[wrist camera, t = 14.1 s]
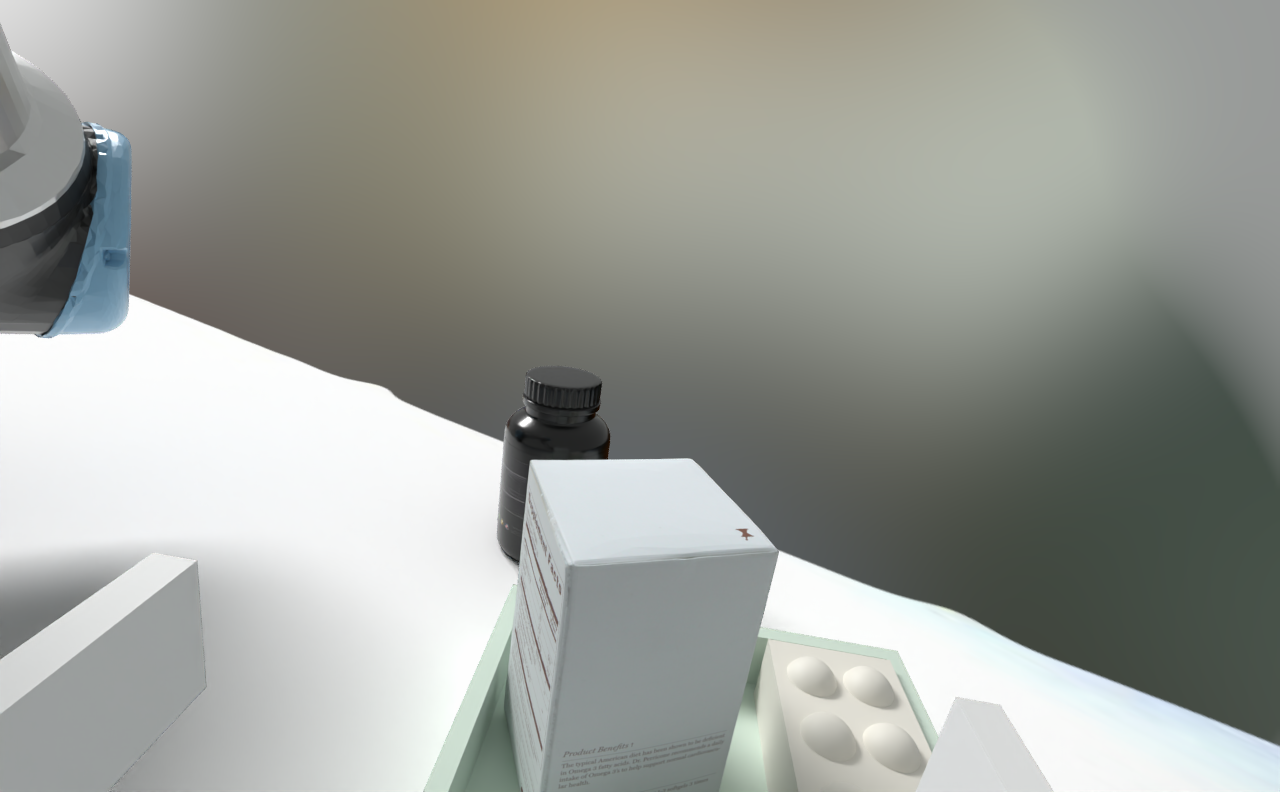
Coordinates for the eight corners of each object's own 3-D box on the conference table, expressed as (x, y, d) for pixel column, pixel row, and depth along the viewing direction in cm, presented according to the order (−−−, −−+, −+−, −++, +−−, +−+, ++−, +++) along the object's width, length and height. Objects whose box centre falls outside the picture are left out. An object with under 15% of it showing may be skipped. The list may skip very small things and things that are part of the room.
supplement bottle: (566, 510, 48) (587, 358, 44) (613, 559, 42) (641, 391, 39) (479, 525, 44) (493, 360, 40) (519, 581, 38) (540, 397, 35)
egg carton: (789, 938, 21) (819, 850, 20) (753, 694, 32) (771, 625, 30) (965, 970, 21) (1006, 883, 20) (871, 714, 32) (894, 646, 30)
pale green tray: (391, 932, 20) (395, 854, 19) (507, 639, 33) (513, 584, 32) (1010, 1043, 20) (1050, 971, 19) (878, 704, 33) (897, 650, 32)
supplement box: (650, 687, 31) (697, 454, 27) (714, 830, 25) (788, 550, 21) (498, 708, 28) (527, 453, 25) (525, 874, 22) (569, 562, 18)
